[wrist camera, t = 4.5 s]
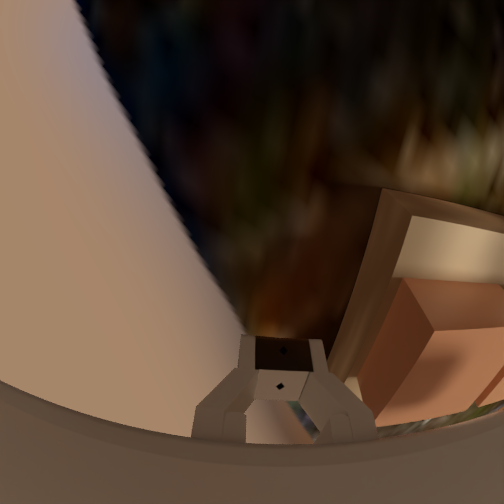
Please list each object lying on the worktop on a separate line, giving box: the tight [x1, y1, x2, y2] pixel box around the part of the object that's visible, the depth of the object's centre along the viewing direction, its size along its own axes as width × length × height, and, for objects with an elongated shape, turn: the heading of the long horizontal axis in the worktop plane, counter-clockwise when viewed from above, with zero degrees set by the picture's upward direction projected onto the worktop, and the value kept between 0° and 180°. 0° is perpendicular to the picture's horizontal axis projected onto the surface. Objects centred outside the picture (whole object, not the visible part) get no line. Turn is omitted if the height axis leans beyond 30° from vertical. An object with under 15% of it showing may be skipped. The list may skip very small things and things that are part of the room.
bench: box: [327, 188, 504, 402], centre depth 14 cm, size 14×11×3 cm
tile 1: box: [357, 278, 504, 427], centre depth 11 cm, size 6×6×3 cm
